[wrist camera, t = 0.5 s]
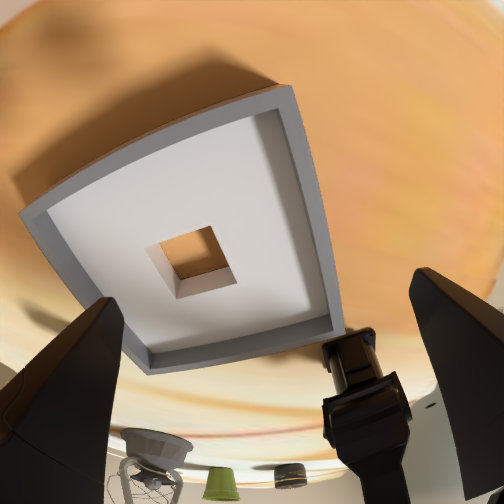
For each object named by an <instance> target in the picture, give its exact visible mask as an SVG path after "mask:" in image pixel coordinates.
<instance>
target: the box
mask: <svg viewBox="0 0 504 504" xmlns="http://www.w3.org/2000/svg"><path fill="white" fill-rule="evenodd" d="M18 214H19V216H20V218H21V219H22V221H23V223H24V224H25V226H26V228H27V229H28V231H29V233H30V234H31V236H32V237H33V239H34V241H35V242H36V244H37V245H38V247H39V248H40V250H41V251H42V253H43V254H44V256H45V257H46V259H47V260H48V262H49V263H50V264H51V266H52V267H53V269H54V270H55V271H56V273H57V274H58V276H59V277H60V278H61V280H62V281H63V282H64V284H65V285H66V286H67V288H68V289H69V290H70V291H71V293H72V294H73V295H74V297H75V298H76V299H77V300H78V302H79V303H80V304H81V305H82V306H83V308H84V309H85V310H86V309H88V308H89V307H90V306H91V305H92V304H93V303H94V302H96V301H97V300H98V299H99V298H100V297H109V296H111V297H114V298H115V300H116V302H117V304H118V306H119V308H120V310H121V312H122V314H123V316H124V331H123V340H122V349H121V350H122V351H123V352H124V353H125V354H126V355H127V356H128V357H129V358H130V359H131V360H132V361H133V362H134V363H135V364H136V365H137V366H138V367H139V368H140V369H141V370H142V371H143V372H144V373H145V374H146V375H155V374H163V373H171V372H178V371H185V370H192V369H198V368H204V367H210V366H216V365H221V364H227V363H232V362H237V361H242V360H247V359H252V358H256V357H261V356H265V355H270V354H274V353H278V352H282V351H286V350H290V349H294V348H298V347H302V346H306V345H310V344H313V343H317V342H320V341H324V340H327V339H331V338H334V337H338V336H341V335H344V334H346V333H345V326H344V318H343V311H342V304H341V297H340V291H339V284H338V278H337V272H336V266H335V261H334V255H333V250H332V244H331V239H330V234H329V229H328V224H327V219H326V214H325V210H324V205H323V201H322V196H321V192H320V187H319V183H318V179H317V175H316V171H315V167H314V163H313V159H312V155H311V151H310V147H309V143H308V140H307V136H306V132H305V129H304V125H303V122H302V118H301V115H300V111H299V108H298V105H297V101H296V98H295V95H294V92H293V89H292V85H284V84H278V85H274V86H270V87H267V88H263V89H260V90H256V91H253V92H250V93H246V94H243V95H240V96H237V97H234V98H231V99H228V100H225V101H222V102H219V103H216V104H214V105H211V106H208V107H206V108H203V109H200V110H198V111H195V112H193V113H190V114H188V115H185V116H183V117H180V118H178V119H175V120H173V121H171V122H168V123H166V124H164V125H162V126H159V127H157V128H155V129H153V130H151V131H148V132H146V133H144V134H142V135H140V136H138V137H136V138H134V139H132V140H130V141H128V142H126V143H124V144H122V145H120V146H118V147H116V148H114V149H113V150H111V151H109V152H107V153H105V154H103V155H102V156H100V157H98V158H96V159H94V160H93V161H91V162H89V163H88V164H86V165H84V166H82V167H81V168H79V169H78V170H76V171H74V172H73V173H71V174H69V175H68V176H66V177H65V178H63V179H62V180H60V181H59V182H57V183H55V184H54V185H52V186H51V187H50V188H48V189H47V190H45V191H44V192H43V193H42V194H41V195H39V196H38V197H37V198H36V199H35V200H33V201H32V202H31V203H30V204H29V205H28V206H26V207H25V208H24V209H23V210H22V211H21V212H20V213H18ZM210 225H211V227H212V229H213V232H214V234H215V236H216V238H217V240H218V242H219V245H220V247H221V249H222V251H223V253H224V255H225V257H226V260H227V262H228V264H229V267H225V268H222V269H218V270H215V271H211V272H208V273H204V274H201V275H197V276H194V277H190V278H187V279H183V280H180V279H179V277H178V275H177V274H176V272H175V270H174V269H173V267H172V265H171V264H170V262H169V260H168V258H167V257H166V255H165V253H164V252H163V250H162V248H161V246H160V245H159V243H160V242H163V241H166V240H169V239H171V238H174V237H177V236H180V235H183V234H186V233H189V232H192V231H195V230H198V229H201V228H204V227H207V226H210Z"/></svg>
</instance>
